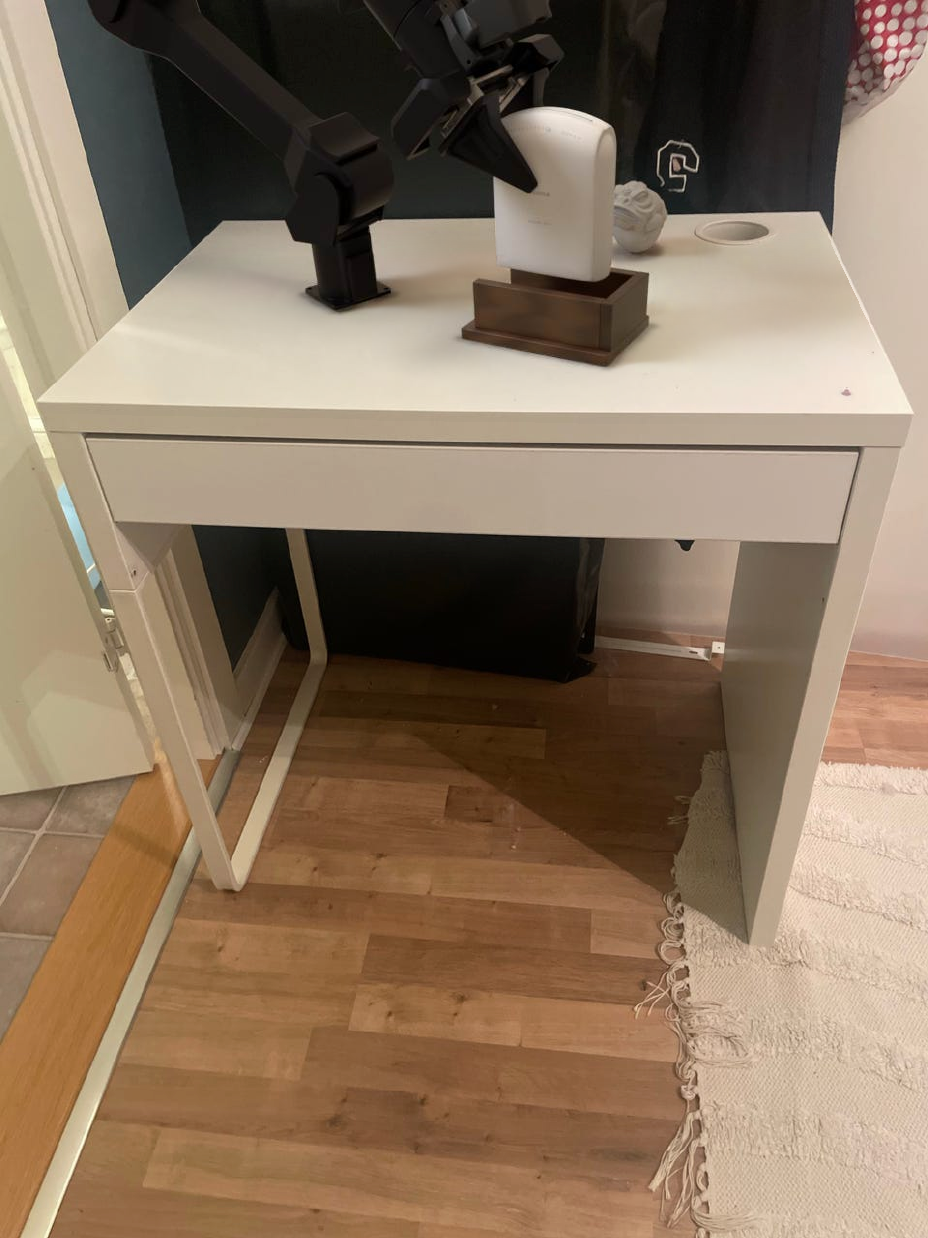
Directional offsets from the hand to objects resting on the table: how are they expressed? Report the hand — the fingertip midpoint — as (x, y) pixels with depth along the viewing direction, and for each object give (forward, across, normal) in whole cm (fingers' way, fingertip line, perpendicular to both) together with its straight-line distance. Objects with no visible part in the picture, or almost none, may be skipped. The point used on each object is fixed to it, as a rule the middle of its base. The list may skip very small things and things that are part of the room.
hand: (547, 181), depth 77 cm
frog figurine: (+8, +21, +10) cm, 25 cm away
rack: (+10, 0, +8) cm, 13 cm away
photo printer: (+6, 0, +5) cm, 7 cm away
